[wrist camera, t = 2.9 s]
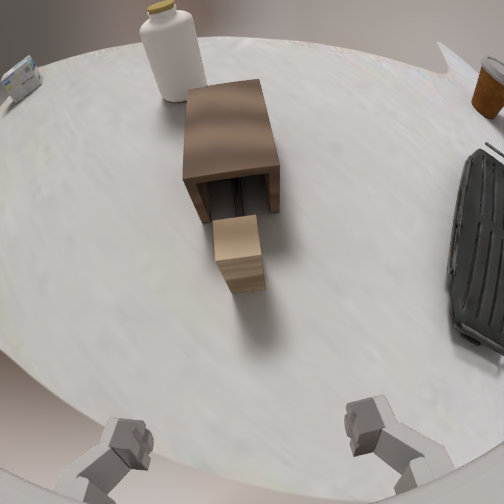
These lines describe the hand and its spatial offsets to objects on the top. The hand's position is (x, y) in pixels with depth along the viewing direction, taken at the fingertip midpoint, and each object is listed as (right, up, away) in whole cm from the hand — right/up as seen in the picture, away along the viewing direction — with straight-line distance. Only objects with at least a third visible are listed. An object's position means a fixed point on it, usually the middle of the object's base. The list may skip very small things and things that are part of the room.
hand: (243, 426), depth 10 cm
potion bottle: (-11, +35, +36) cm, 51 cm away
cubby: (-2, +17, +27) cm, 32 cm away
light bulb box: (-68, +56, +50) cm, 102 cm away
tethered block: (-1, +12, +25) cm, 28 cm away
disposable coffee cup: (+49, +37, +32) cm, 69 cm away
